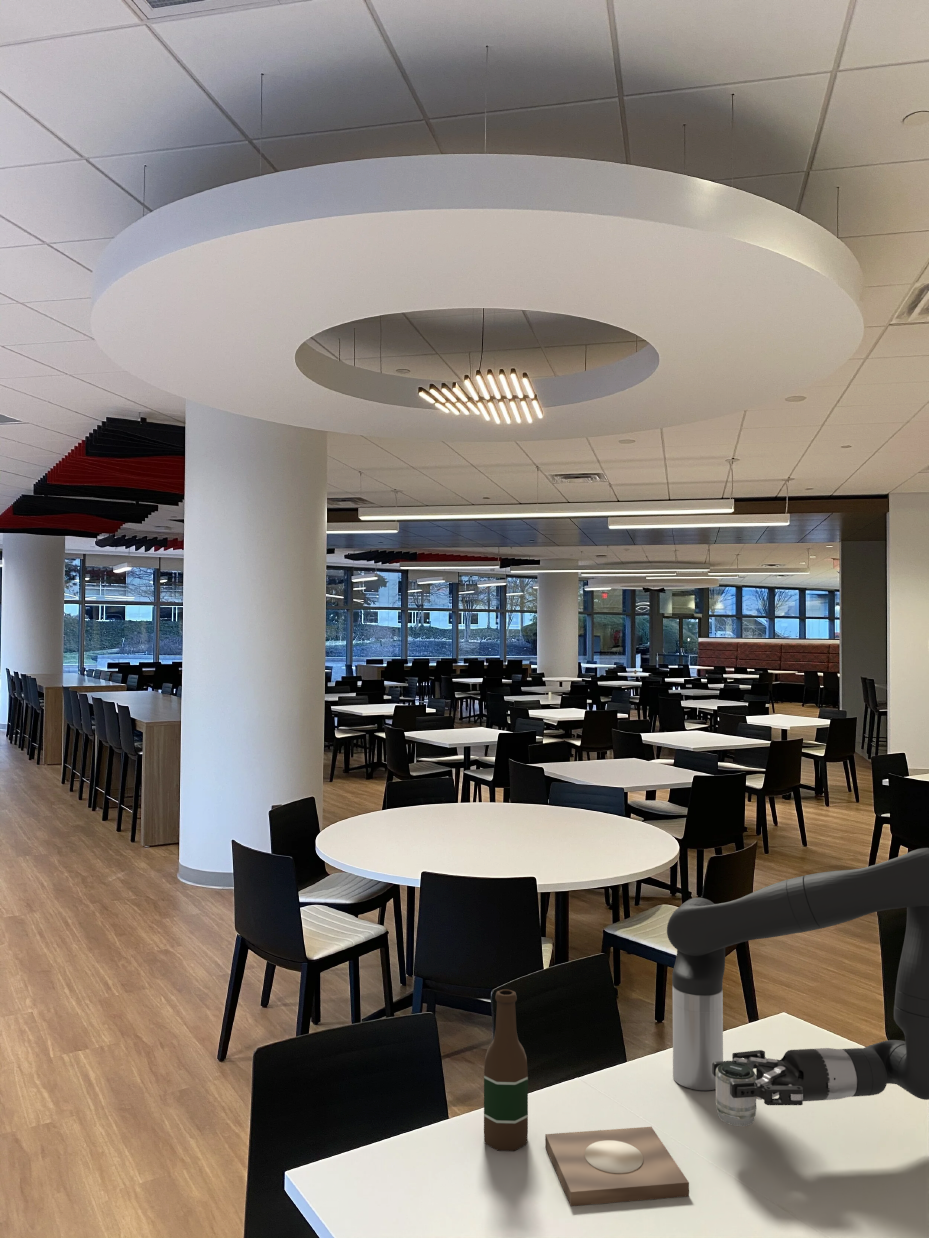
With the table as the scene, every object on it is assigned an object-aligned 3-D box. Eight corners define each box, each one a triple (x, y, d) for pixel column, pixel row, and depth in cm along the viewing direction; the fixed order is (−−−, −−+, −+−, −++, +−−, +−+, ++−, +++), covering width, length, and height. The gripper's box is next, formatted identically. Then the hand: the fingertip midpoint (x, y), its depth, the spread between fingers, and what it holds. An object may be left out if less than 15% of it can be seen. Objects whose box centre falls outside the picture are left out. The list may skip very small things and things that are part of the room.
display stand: (545, 1146, 146) (545, 1132, 146) (651, 1138, 149) (651, 1125, 149) (570, 1205, 131) (570, 1190, 131) (689, 1196, 133) (688, 1180, 133)
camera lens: (720, 1103, 148) (720, 1055, 149) (759, 1113, 145) (759, 1064, 146) (711, 1120, 143) (711, 1070, 143) (752, 1131, 140) (752, 1080, 140)
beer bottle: (536, 1133, 150) (536, 987, 151) (519, 1157, 143) (519, 1004, 144) (493, 1123, 154) (493, 980, 155) (474, 1145, 147) (475, 996, 148)
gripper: (796, 1031, 154) (703, 1036, 151) (843, 1071, 139) (741, 1077, 137) (796, 1076, 153) (703, 1081, 151) (843, 1120, 139) (741, 1127, 137)
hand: (722, 1079), depth 144 cm, fingers closed on camera lens, 6 cm apart
